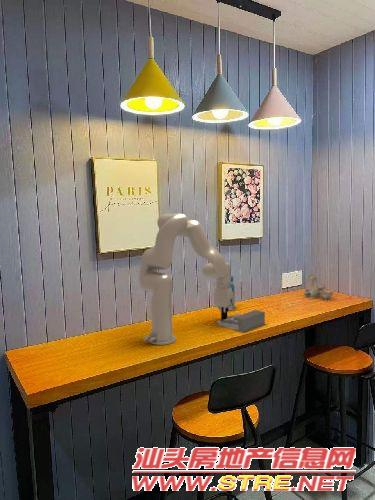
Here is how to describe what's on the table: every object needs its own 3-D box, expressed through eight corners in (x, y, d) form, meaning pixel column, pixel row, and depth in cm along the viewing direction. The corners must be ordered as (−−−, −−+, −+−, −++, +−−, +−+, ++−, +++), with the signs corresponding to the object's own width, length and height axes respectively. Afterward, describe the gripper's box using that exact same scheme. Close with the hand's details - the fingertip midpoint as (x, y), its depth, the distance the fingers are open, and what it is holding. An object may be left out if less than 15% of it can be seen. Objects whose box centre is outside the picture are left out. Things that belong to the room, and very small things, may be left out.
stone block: (221, 328, 192) (239, 327, 187) (220, 319, 193) (237, 318, 187) (232, 323, 202) (248, 322, 197) (230, 315, 202) (247, 313, 197)
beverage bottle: (234, 311, 218) (233, 277, 216) (220, 311, 220) (219, 277, 218) (235, 307, 226) (235, 275, 224) (221, 307, 228) (221, 275, 226)
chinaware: (337, 303, 234) (340, 278, 233) (311, 302, 234) (313, 276, 233) (320, 294, 262) (323, 271, 261) (297, 292, 262) (299, 269, 260)
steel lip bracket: (243, 332, 179) (243, 319, 178) (216, 325, 192) (215, 313, 191) (264, 324, 191) (264, 312, 191) (237, 318, 204) (237, 306, 203)
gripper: (208, 284, 200) (209, 318, 202) (230, 288, 189) (230, 323, 191) (217, 282, 205) (218, 315, 207) (239, 285, 195) (239, 320, 196)
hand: (224, 319), depth 199 cm, fingers closed
